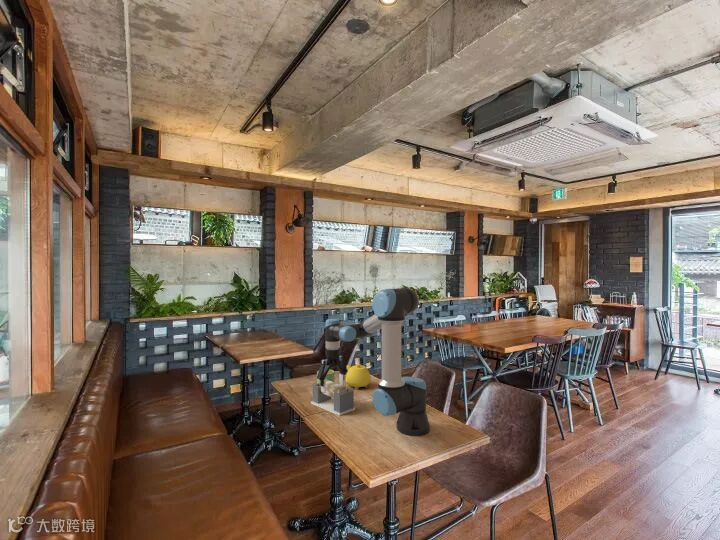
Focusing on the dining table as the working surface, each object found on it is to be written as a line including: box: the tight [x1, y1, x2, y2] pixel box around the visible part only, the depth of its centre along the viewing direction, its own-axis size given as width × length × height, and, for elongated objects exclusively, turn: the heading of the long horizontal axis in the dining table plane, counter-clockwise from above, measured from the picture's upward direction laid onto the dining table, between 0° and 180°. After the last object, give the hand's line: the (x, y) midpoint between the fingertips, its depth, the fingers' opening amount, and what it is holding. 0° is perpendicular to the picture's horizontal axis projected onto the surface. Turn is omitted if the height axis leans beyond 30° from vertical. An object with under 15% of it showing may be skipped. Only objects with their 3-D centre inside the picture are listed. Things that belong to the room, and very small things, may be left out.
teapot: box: [345, 363, 372, 391], centre depth 234 cm, size 20×16×14 cm
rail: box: [319, 379, 347, 399], centre depth 199 cm, size 17×4×6 cm, turn 42°
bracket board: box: [310, 383, 356, 417], centre depth 199 cm, size 23×11×10 cm, turn 45°
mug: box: [316, 368, 335, 384], centre depth 223 cm, size 13×10×12 cm
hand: (332, 389), depth 199 cm, fingers open, 12 cm apart
